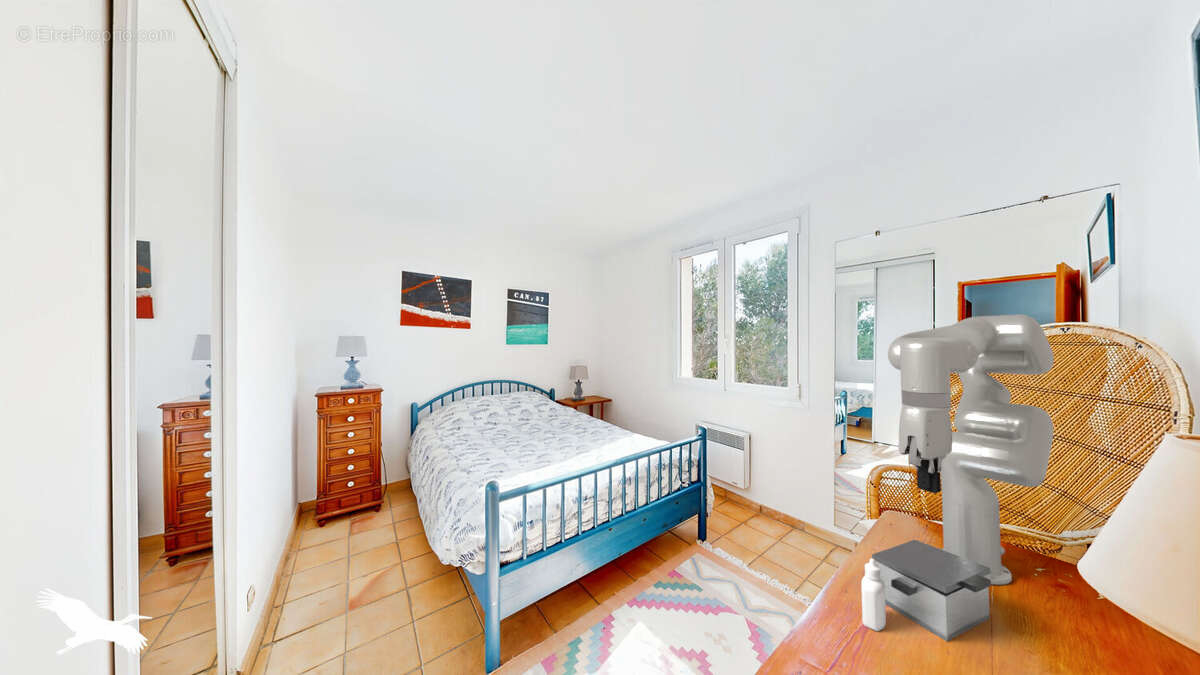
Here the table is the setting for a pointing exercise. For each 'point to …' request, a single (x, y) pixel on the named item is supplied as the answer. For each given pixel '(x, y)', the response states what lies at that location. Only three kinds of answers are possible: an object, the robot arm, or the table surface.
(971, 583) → the lid
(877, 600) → the eye dropper bottle
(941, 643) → the table surface
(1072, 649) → the table surface
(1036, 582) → the table surface
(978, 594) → the grey rectangular box
